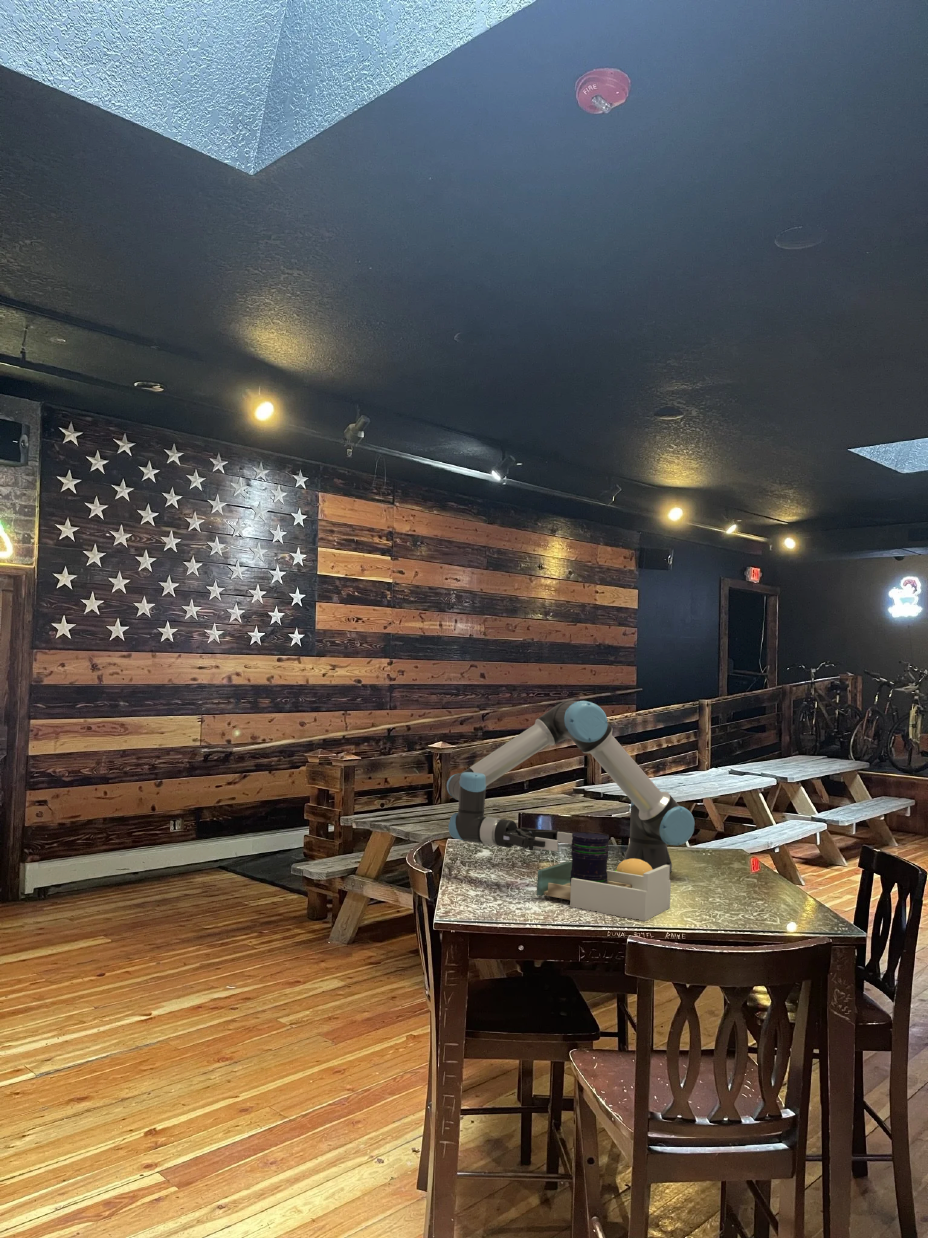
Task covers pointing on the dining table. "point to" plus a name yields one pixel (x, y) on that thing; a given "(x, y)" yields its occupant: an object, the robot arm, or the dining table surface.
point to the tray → (560, 881)
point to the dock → (625, 894)
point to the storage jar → (589, 856)
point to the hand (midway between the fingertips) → (568, 843)
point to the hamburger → (634, 867)
